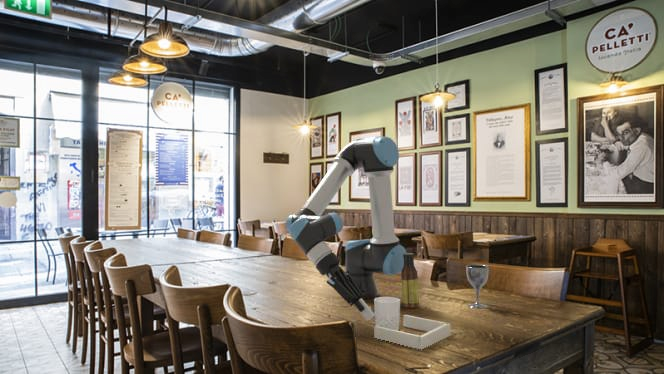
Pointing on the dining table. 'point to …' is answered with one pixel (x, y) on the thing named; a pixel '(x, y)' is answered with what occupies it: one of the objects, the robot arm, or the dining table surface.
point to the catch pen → (433, 335)
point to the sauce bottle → (409, 282)
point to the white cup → (387, 312)
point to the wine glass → (477, 281)
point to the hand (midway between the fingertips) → (371, 318)
